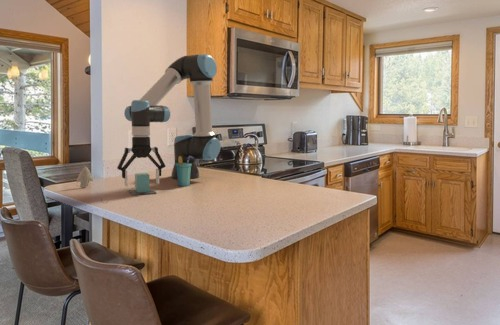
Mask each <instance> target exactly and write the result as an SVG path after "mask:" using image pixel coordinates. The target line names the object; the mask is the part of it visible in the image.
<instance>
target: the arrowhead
mask: <svg viewBox="0 0 500 325" xmlns="http://www.w3.org/2000/svg"><path fill="white" fill-rule="evenodd" d="M90 181H91V182H93V181H94V177H93V174H92V173H91V171H90V170H89V168H88V167H87V166H84V167H83V168H82V169H81V170H80V172H79V175H78V176H77V179H76V183H79V182H80V185H79V188H83V189H85V187H86V188H88V187H89V184H90Z"/></svg>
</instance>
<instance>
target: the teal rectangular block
mask: <svg viewBox="0 0 500 325" xmlns="http://www.w3.org/2000/svg"><path fill="white" fill-rule="evenodd" d="M150 180H151V179H150V174H149V173H148V172H144V173H143V172H141V173H135V174H134V183H135V184H134V187H135V189H134V190H135V191H136V192H137V193H141V192H150V189H151V188H150V187H151V186H150Z"/></svg>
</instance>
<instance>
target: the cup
mask: <svg viewBox="0 0 500 325" xmlns="http://www.w3.org/2000/svg"><path fill="white" fill-rule="evenodd" d="M189 158H192V159H194V157H192V156H189V157H188V159H187V163H183V160H182V157H181V156H179V157H178V162H179V163H177V164H176V166H177V176H178V179H177V184H178V187H189V186H190V183H191V182H190V181H191V179H190V172H191V166H192V164H191V163H189Z"/></svg>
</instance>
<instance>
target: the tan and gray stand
mask: <svg viewBox="0 0 500 325" xmlns="http://www.w3.org/2000/svg"><path fill="white" fill-rule="evenodd" d="M128 193H130V194H131V196H145V195H156V194H157V191H156V190H154V189H153V188H150V192H141V193H137V192H136V191H135V189H129V190H128Z"/></svg>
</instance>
